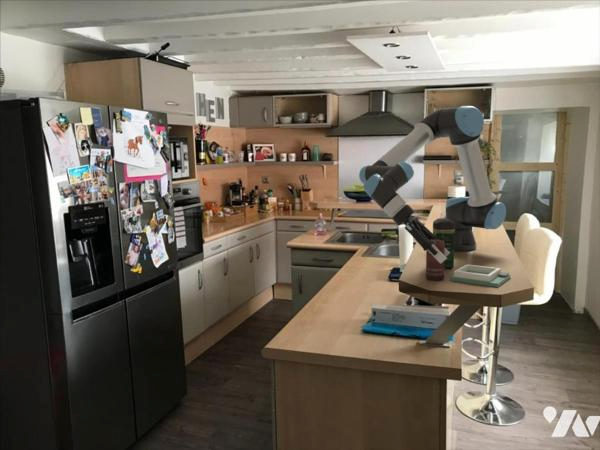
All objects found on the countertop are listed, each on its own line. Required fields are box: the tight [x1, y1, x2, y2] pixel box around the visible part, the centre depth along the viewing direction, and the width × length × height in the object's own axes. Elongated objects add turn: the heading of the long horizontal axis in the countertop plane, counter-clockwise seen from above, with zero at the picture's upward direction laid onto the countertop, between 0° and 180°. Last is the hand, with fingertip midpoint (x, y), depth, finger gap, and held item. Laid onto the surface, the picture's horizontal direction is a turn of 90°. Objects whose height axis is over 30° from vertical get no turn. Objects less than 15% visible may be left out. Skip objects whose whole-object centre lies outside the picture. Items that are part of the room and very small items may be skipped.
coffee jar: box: [432, 217, 455, 270], centre depth 188 cm, size 10×8×19 cm
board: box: [449, 264, 511, 288], centre depth 169 cm, size 14×16×3 cm
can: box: [425, 239, 445, 282], centre depth 171 cm, size 6×6×14 cm
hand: (445, 258), depth 169 cm, fingers open, 8 cm apart
